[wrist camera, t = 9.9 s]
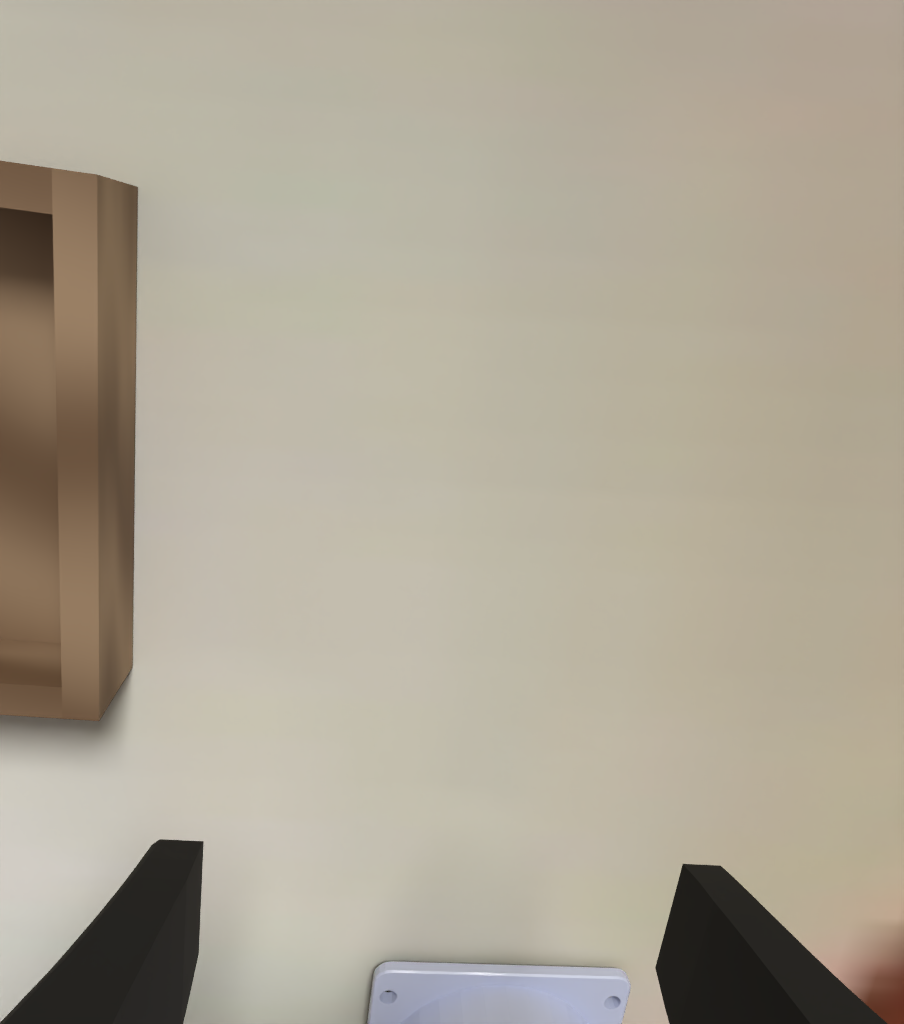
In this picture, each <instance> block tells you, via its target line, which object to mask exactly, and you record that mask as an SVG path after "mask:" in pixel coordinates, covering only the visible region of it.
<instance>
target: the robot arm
mask: <svg viewBox="0 0 904 1024" xmlns="http://www.w3.org/2000/svg"><path fill="white" fill-rule="evenodd" d="M202 861H203V841H182V840H158V841H157V842H156V843H154V844H153V845H152V846H151V847H150V848H149V850H148V851H147V852H146V854H145V855H144V857H143V858H142V859H141V861H140V862H139V863H138V865H137V866H136V867H135V869H134V870H133V872H132V873H131V874H130V875H129V877H128V878H127V879H126V881H125V882H124V883H123V885H122V886H121V887H120V888H119V890H118V891H117V892H116V893H115V895H114V896H113V897H112V898H111V900H110V901H109V902H108V903H107V905H106V906H105V907H104V908H103V909H102V911H101V912H100V913H99V914H98V916H97V917H96V918H95V919H94V920H93V921H92V923H91V924H90V925H89V926H88V927H87V928H86V930H85V931H84V932H83V933H82V934H81V935H80V937H79V938H78V939H77V940H76V941H75V942H74V944H73V945H72V946H71V947H70V948H69V949H68V950H67V952H66V953H65V954H64V955H63V956H62V957H61V959H60V960H59V961H58V962H57V963H56V964H55V965H54V966H53V967H52V969H51V970H50V971H49V972H48V973H47V974H46V975H45V976H44V977H43V978H42V979H41V980H40V981H39V982H38V983H37V985H36V986H35V987H34V988H33V989H32V990H31V991H30V992H29V993H28V994H27V995H26V996H25V997H24V998H23V999H22V1000H21V1001H20V1002H19V1003H18V1005H17V1006H16V1007H15V1008H14V1009H13V1010H12V1011H11V1012H10V1013H9V1014H8V1015H7V1016H6V1017H5V1018H4V1019H3V1020H2V1021H1V1022H0V1024H183V1021H184V1017H185V1013H186V1008H187V1004H188V1000H189V995H190V990H191V986H192V981H193V977H194V972H195V967H196V963H197V958H198V953H199V930H200V907H201V884H202ZM656 972H657V976H658V980H659V984H660V988H661V992H662V996H663V1000H664V1005H665V1009H666V1012H667V1016H668V1020H669V1023H670V1024H887V1023H886V1022H885V1021H884V1020H883V1019H882V1018H880V1017H879V1016H878V1015H877V1014H876V1013H875V1012H874V1011H872V1010H871V1009H870V1008H869V1007H868V1006H867V1005H866V1004H865V1003H864V1002H862V1001H861V1000H860V999H859V998H858V997H857V996H856V995H855V994H854V993H853V992H852V991H850V990H849V989H848V988H847V987H846V986H845V985H844V984H843V983H842V982H841V981H840V980H839V979H838V978H836V977H835V976H834V975H833V974H832V973H831V972H830V971H829V970H828V969H827V968H826V967H825V966H824V965H823V964H822V963H821V962H820V961H819V960H817V959H816V958H815V957H814V956H813V955H812V954H811V953H810V952H809V951H808V950H807V949H806V948H805V947H804V946H803V945H802V944H801V943H800V942H799V941H798V940H797V939H796V938H795V937H794V936H793V935H792V934H791V933H790V932H789V931H788V930H787V929H786V928H785V927H784V926H783V925H782V924H780V923H779V922H778V921H777V920H776V919H775V918H774V917H773V916H772V915H771V914H770V913H769V912H768V911H767V910H766V909H765V908H764V907H763V906H762V905H761V904H760V903H759V902H758V901H757V900H756V899H755V898H754V897H753V896H752V895H751V894H750V893H749V892H748V891H747V890H746V889H745V888H744V887H743V886H742V885H741V884H740V883H739V882H738V881H736V880H735V879H734V878H733V877H732V876H731V875H730V874H729V873H728V872H727V871H726V870H725V869H724V868H722V867H721V866H713V865H692V864H683V866H682V870H681V873H680V877H679V881H678V885H677V889H676V892H675V896H674V900H673V904H672V907H671V911H670V915H669V919H668V923H667V926H666V930H665V934H664V938H663V941H662V945H661V949H660V953H659V957H658V960H657V964H656ZM388 990H390V991H392V992H384V991H388ZM629 993H630V982H629V979H628V976H627V974H626V972H624V971H623V970H621V969H617V968H598V967H565V966H531V965H498V964H465V963H432V962H399V961H390V962H385V963H382V964H380V965H379V966H378V967H377V968H376V969H375V971H374V974H373V981H372V989H371V997H370V1005H369V1012H368V1020H367V1024H622V1021H623V1017H624V1013H625V1009H626V1005H627V1001H628V997H629ZM611 996H612V997H611Z"/></svg>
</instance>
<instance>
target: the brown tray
mask: <svg viewBox="0 0 904 1024" xmlns="http://www.w3.org/2000/svg"><path fill="white" fill-rule="evenodd" d="M137 194H138V187H136V186H133V185H129V184H126V183H123V182H119V181H116V180H113V179H110V178H106V177H103V176H100V175H95V174H88V173H81V172H74V171H67V170H60V169H54V168H47V167H40V166H33V165H26V164H19V163H12V162H5V161H0V715H13V716H29V717H45V718H60V719H76V720H92V721H99V720H100V719H101V717H102V715H103V714H104V712H105V711H106V709H107V707H108V706H109V704H110V702H111V701H112V699H113V698H114V696H115V694H116V693H117V691H118V690H119V688H120V686H121V685H122V683H123V681H124V680H125V678H126V677H127V675H128V673H129V672H130V670H131V668H132V663H133V569H134V475H135V382H136V288H137Z"/></svg>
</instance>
